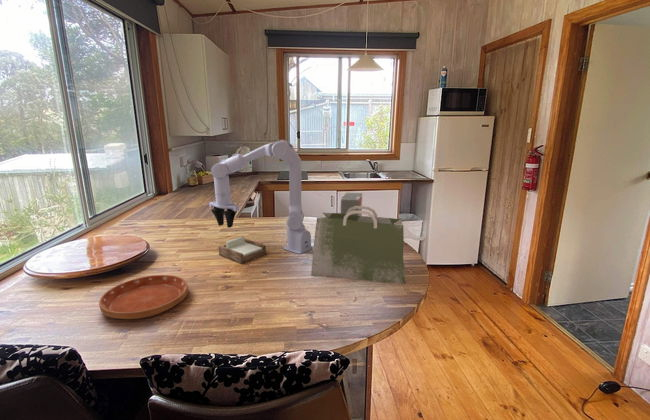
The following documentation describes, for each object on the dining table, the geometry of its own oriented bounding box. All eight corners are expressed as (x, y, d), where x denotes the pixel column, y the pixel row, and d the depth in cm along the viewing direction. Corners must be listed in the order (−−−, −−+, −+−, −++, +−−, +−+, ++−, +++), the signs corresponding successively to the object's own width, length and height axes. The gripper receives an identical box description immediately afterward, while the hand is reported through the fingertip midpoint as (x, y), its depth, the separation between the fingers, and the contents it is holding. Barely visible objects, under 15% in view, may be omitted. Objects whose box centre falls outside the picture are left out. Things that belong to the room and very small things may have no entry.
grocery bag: (404, 266, 123) (408, 204, 117) (406, 284, 110) (410, 215, 104) (318, 260, 129) (317, 200, 123) (309, 276, 116) (308, 210, 110)
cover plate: (262, 249, 133) (261, 241, 133) (242, 257, 126) (241, 248, 126) (244, 243, 140) (243, 235, 139) (224, 250, 133) (224, 242, 132)
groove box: (266, 254, 135) (265, 245, 134) (241, 264, 126) (240, 254, 125) (243, 246, 143) (243, 237, 142) (219, 255, 134) (218, 246, 133)
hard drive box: (357, 247, 141) (358, 200, 136) (339, 246, 143) (339, 199, 138) (361, 235, 156) (362, 192, 151) (345, 234, 158) (345, 191, 152)
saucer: (166, 277, 116) (165, 267, 115) (203, 299, 102) (202, 288, 101) (89, 305, 99) (86, 294, 98) (121, 336, 85) (118, 323, 84)
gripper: (243, 193, 134) (245, 226, 138) (217, 189, 141) (220, 221, 145) (230, 196, 128) (233, 230, 132) (203, 192, 135) (207, 225, 139)
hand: (225, 226), depth 138 cm, fingers open, 4 cm apart
